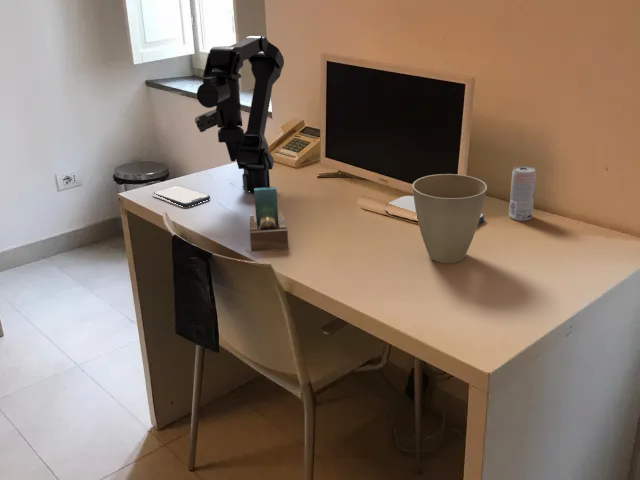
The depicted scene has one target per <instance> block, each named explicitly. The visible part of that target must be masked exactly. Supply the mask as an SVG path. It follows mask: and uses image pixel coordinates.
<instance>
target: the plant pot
mask: <svg viewBox="0 0 640 480" xmlns="http://www.w3.org/2000/svg"><path fill="white" fill-rule="evenodd" d="M411 186H412V188H411V189H412V193H413V194H412V196H414V203H415V209H416V214H417V219H418V222H417V223H418V227H419V230H420V233H421V237H422V240H423V243H424V246H425V249H426V252H427V253H428V256H429V258H430V259H431V260H432V261H434V262H435V263H436V262H437V263H441V264H455V263H458V262H461V261H463V260H464V258H465V256H466V255H467V253H468V251H469V248H470V245H471V244H472V242H473V239H474V236H475V234H476V231H477V229H478V226H479V225H478V223H479V219H480V216H481V213H482V212H483V208H484V204H485V200H486V199H485V198H486V196H487V195H486V194H487V190H488V186H487V184H486V182H485V181H483V180H481V179H479V178H476V177H474V176H470V175H464V174H456V173H455V174H453V173H445V174H444V173H440V174H432V175H431V174H430V175H426V176H423V177H420V178H417V179H416V180H414V181H413V182H412V185H411Z"/></svg>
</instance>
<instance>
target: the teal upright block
mask: <svg viewBox="0 0 640 480" xmlns="http://www.w3.org/2000/svg"><path fill="white" fill-rule="evenodd" d="M277 194H278V193H277V187H276V186H271V187H266V188H254V194H253V197H254V206H255V207H254V208H255V221H257V228H259V231H263V230H276V229H277V226H279V210H278V196H277Z"/></svg>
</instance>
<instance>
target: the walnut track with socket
mask: <svg viewBox="0 0 640 480" xmlns="http://www.w3.org/2000/svg"><path fill="white" fill-rule="evenodd" d="M286 220H287V219H286V218H285V214H284V213H279V219H278V224H279V225H278V228H276V230H263V231H260V230H258V227H257V221H256V220H255V216H254V215H250V216H249V239H250V249H251V250H250V251H251V252H263V251H265V252H266V251H275V250H288V249H289V237H288V235H289V233H288V227H287V221H286Z"/></svg>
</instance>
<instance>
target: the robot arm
mask: <svg viewBox="0 0 640 480" xmlns="http://www.w3.org/2000/svg"><path fill="white" fill-rule="evenodd" d="M246 60H247V61H248V62H249V64H250V66H251V67H250V68H251V69H250V70H251V73H252V74H253V77H254V87H253V93H252V98H251V103H250V104H251V105H250V110H249V115H248V121H247V126H246V131H245V132H244V129H243V128H242V127H243V120H242V119H243V118H242V111H241V110H242V106H241V97H240V95H241V93H240V84H239V83H240V81H239V79H241V78H242V75H241V73H239V72H240V69H241V68H243V66H244V61H246ZM205 62H206V63H205V65H204V71H203V75H202V77H203V78H202V84H200V85H199V86H198V88H197V91H196V98H197V101H198V102H199V104H200V105H201V106H202V107H204V108H207V109H212V108H215V109H212V110H210V111H207V112H205V113H202V114H199V115H197V116H196V117H195V118H194V122H195V124H196V127H197V129H198V130H199V132H200V133H204V132H206V131H207V130H208V129H211V128H213V127H216V126H217V128H219V129H218V131H217V138H218V143H225V146H226V148H227V152H228V156H229V159H230V162H236V164H237V168H238V169H239V170H243V173H242V177H241V178H242V184H243V185H242V189H243V188H244V189H243V190H245V189H246V190H245V191H246V192H248V191H250V192H251V193H254V188H266V187H270V186H271V183H270V170H272V169H273V168H274V163H275V162H274V160H275V158H274V157H273V156H272V154H271V152H270V151H269V144H268V141H267V139H266V135H265V133H266V132H265V131H266V127H267V126H266V125H267V121H268V114H269V109H270V103H271V97H272V92H273V86H274V84H275V83H276V82H277V81H278V80H279V79H280V77H281V74H282V70H283V68H284V65H285V59H284V56H283V54H282V52H281V51H280V49H279V47H277V46H275V45H274V44H272V43H271V42H270V41H269V40H268V39H267V37H266V36H264V35H249V36H247V37H246V38H244V39H242V40H240V41H238V42H236V43H233V44H231V45H228V46H227V45H226V46H212V47H211V48H210V49H209V52H208V54H207V57H206V61H205ZM250 192H249V193H250ZM251 193H250V194H251Z"/></svg>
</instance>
